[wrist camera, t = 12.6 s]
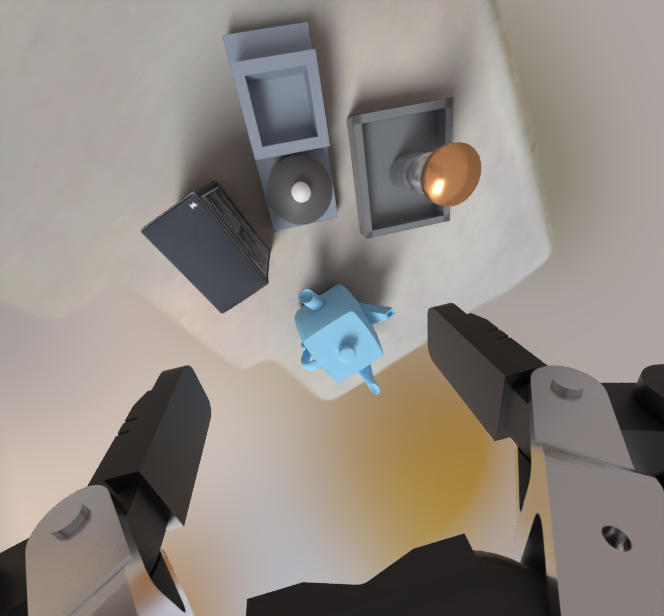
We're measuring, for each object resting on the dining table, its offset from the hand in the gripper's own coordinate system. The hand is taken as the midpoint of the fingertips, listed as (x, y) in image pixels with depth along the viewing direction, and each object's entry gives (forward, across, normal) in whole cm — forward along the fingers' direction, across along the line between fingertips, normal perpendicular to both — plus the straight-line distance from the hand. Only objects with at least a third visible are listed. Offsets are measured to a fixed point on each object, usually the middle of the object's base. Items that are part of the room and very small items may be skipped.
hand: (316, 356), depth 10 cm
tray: (+30, -14, -2) cm, 33 cm away
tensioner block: (+30, -2, -7) cm, 31 cm away
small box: (+30, +8, +1) cm, 31 cm away
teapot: (+30, -4, +16) cm, 34 cm away
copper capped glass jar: (+30, -15, -2) cm, 33 cm away
